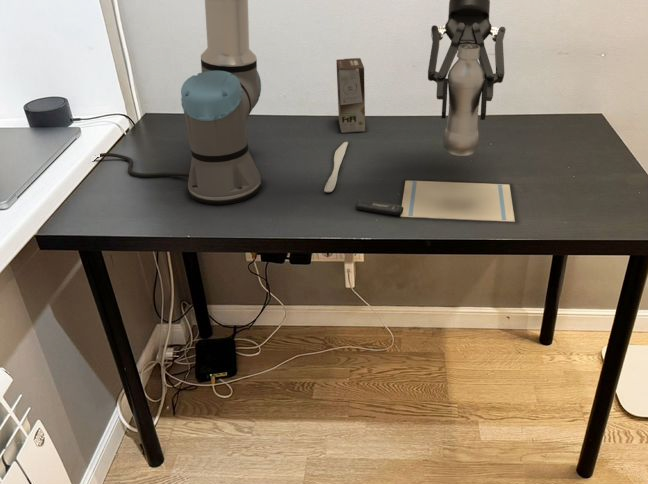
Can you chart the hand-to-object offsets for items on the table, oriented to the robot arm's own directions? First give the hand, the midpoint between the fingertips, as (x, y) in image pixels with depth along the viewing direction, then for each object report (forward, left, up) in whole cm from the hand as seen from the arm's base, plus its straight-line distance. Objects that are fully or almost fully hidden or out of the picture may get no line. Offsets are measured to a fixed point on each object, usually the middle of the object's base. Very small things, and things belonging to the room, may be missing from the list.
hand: (463, 115), depth 116 cm
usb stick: (-15, -1, -20) cm, 25 cm away
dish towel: (0, +6, -20) cm, 21 cm away
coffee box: (-27, +45, -20) cm, 56 cm away
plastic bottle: (0, +4, -9) cm, 10 cm away
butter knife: (-27, +20, -20) cm, 39 cm away
